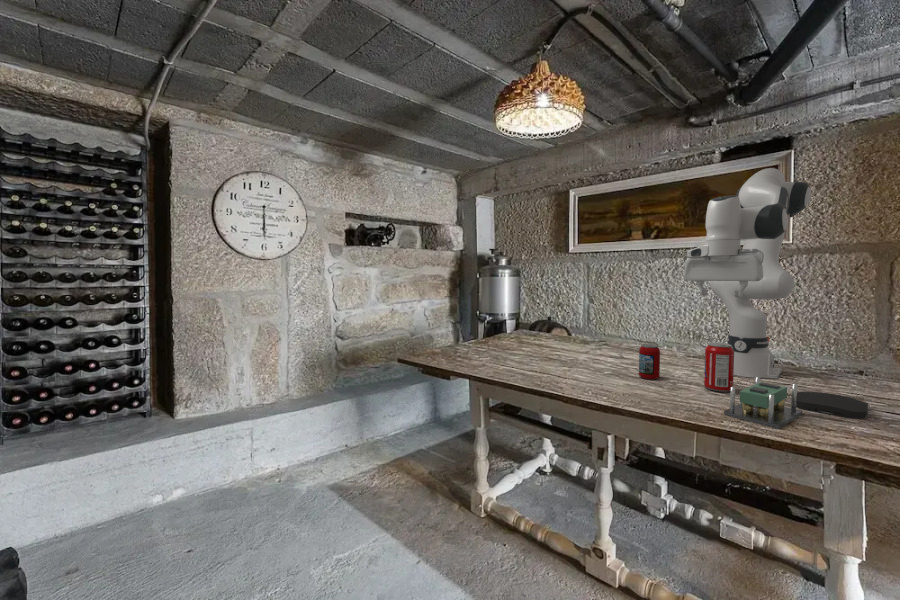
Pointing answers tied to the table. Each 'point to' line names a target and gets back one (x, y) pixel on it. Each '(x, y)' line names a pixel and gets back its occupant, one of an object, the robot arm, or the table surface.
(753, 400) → the board
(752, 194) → the robot arm
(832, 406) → the media streaming box
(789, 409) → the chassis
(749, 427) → the table surface
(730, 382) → the soda can
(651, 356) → the beverage can
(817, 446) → the table surface
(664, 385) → the table surface
